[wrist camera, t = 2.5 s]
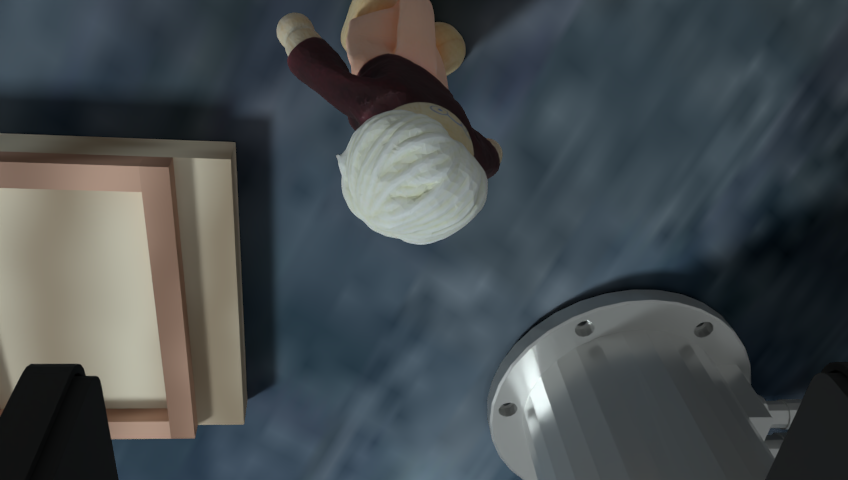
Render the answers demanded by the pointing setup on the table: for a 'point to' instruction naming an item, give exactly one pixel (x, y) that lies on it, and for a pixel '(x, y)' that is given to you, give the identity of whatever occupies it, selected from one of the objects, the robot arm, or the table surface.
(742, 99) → the table surface
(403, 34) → the grandmother figurine
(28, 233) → the display base
